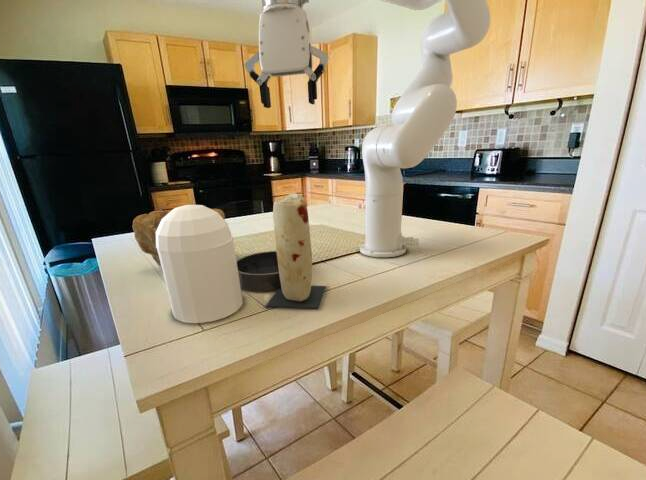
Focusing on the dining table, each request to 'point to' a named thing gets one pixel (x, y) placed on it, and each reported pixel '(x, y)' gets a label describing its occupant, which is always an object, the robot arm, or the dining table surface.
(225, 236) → the container
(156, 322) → the dining table surface
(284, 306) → the mat
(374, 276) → the dining table surface
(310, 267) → the food model
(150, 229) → the rough brown rock
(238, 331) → the dining table surface
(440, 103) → the robot arm
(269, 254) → the pan
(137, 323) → the dining table surface
